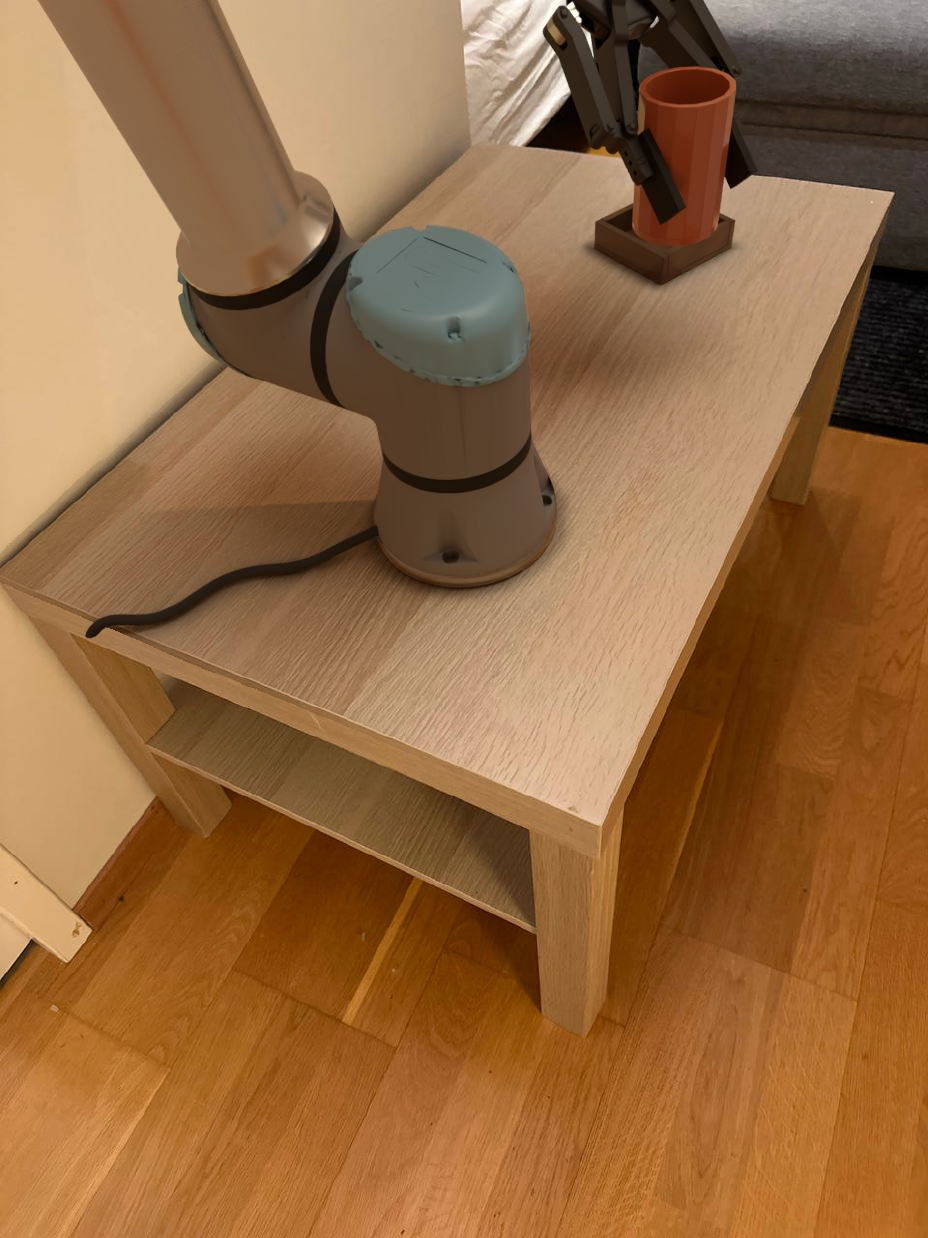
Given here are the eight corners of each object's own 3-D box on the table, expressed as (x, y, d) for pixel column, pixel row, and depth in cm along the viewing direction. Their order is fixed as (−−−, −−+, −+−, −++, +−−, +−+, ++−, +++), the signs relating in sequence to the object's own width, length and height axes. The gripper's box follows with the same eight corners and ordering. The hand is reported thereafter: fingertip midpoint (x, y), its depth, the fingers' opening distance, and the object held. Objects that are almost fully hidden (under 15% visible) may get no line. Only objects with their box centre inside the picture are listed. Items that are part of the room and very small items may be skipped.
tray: (661, 284, 95) (663, 257, 92) (594, 247, 101) (594, 221, 98) (731, 247, 98) (735, 219, 96) (663, 213, 104) (665, 186, 101)
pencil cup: (673, 255, 74) (687, 115, 65) (614, 224, 78) (620, 88, 69) (735, 223, 76) (756, 83, 68) (675, 193, 80) (687, 58, 72)
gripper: (650, -83, 75) (765, 174, 79) (456, -12, 69) (592, 263, 73) (703, -157, 68) (827, 130, 72) (493, -84, 62) (641, 225, 66)
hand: (708, 197), depth 72 cm, fingers closed on pencil cup, 7 cm apart
